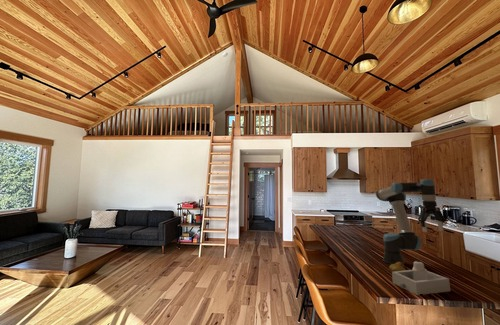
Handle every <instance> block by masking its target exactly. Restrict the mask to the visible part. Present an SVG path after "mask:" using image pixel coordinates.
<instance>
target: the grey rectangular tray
mask: <svg viewBox="0 0 500 325" xmlns="http://www.w3.org/2000/svg"><path fill="white" fill-rule="evenodd" d="M412 270H413V269H407V270H405V271H394V272H391V278H392V283H393V284H394V285H396V286H399V287H400V288H401V289H404V290H406V291H408V292H410V293H411V294H413V295H416V296H421V295H420V294H423V295H429V294H430V293H431V294H439V293H445V292H446V293H447V292H451V284H450V278H448V277H446V276H443V275H439V274H437V273H435V272H431V271H429V270H427V275H428V280H418V281H415V280H413V272H412Z"/></svg>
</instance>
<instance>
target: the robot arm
mask: <svg viewBox="0 0 500 325" xmlns="http://www.w3.org/2000/svg"><path fill="white" fill-rule="evenodd" d="M406 193H421V199H422V205H423V206H422V207H421V208H420V211H419V212H420V213H419V216H418V219H417V221H418V222H420V224H421V229H422V230H421V231H422V232H424V233H428V226H427V222H426V221H427V219H428V217H429V216H430V215H433V217H434V218H436V219H437V228H438V231H440V232H444V223H443V222H445V221H446V219H445V217H444V215H443V213H442V211H441V208H440V207H438V206H437V205H438V204H437V203H438V202H437V198H436V197H437V196H436V187H435V181H434V179H432V178H431V179H430V178H425V179H424V178H422V179H420V181H419V182H418V181H417V182H416V181H415V182H393V183H392V184H391V185H390V186H388V187H385V188H380V189H378V190H377V191H376V192H375V195H376V198H377V199H378V200H380V201H381V202H389V204H390V206H391V205H392V208H393V211H394V215H395V219H396V223H397V226H398V230H399V232H397V233H396V232H388V233H385V234H383V238H382V240H383V250H384V254H383V257H382V261H384V262H383V263H385V262H386V263H385V264H388V263H389V264H388V265H392V264H395V263H397V262H402V263H403V265H404V266H405V259H404V258H403V255H402V251H419V250H420V249H421V246H422V241H421V237H419V235H417V234H416V233H415V232H414V231H413V230H412V227H411V224H410V221H409V218H408V214H407V211H406V207H405V202H406V200H407V195H406Z"/></svg>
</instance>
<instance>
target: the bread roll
mask: <svg viewBox="0 0 500 325" xmlns="http://www.w3.org/2000/svg"><path fill="white" fill-rule="evenodd" d="M388 270H389V271H390V272H391V273H392V272H394V271H405V270H406V268H405V264H404V265H403V263H402V262H397V263H395V264H389V269H388Z"/></svg>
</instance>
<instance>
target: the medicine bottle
mask: <svg viewBox="0 0 500 325" xmlns="http://www.w3.org/2000/svg"><path fill="white" fill-rule="evenodd" d="M412 266H413V267H412V269H411V270H412V272H413V280H415V281H418V280H428V275H427V271H428V270H427V269H426V264H425V262H424V261H421V260H413V261H412Z"/></svg>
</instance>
